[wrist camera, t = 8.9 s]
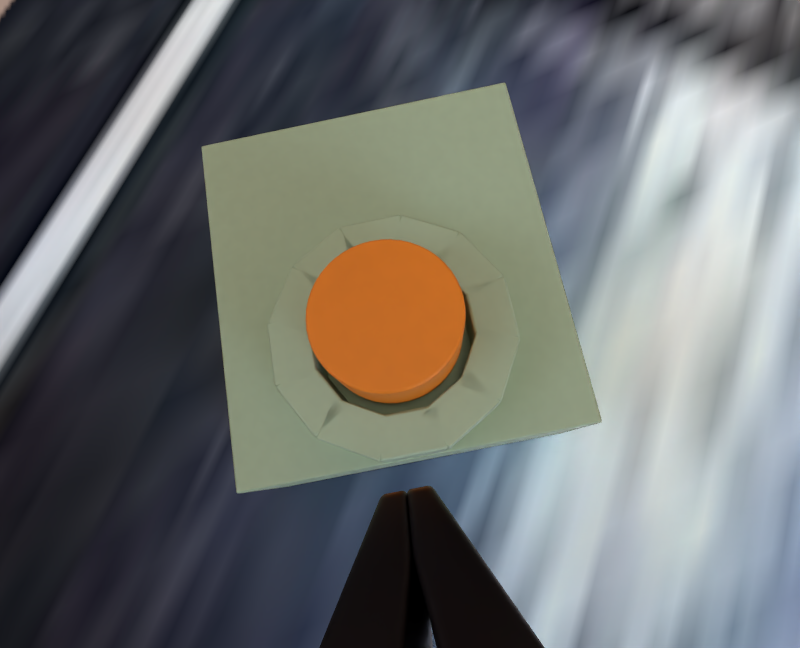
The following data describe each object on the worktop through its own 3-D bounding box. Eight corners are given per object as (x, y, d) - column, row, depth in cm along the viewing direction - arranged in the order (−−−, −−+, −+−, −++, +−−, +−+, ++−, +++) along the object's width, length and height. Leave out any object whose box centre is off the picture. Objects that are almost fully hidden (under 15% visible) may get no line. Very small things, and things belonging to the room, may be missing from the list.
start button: (476, 388, 15) (482, 376, 13) (334, 416, 15) (317, 408, 13) (446, 255, 16) (447, 223, 14) (313, 282, 16) (294, 254, 14)
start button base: (563, 432, 21) (623, 416, 14) (285, 486, 21) (210, 497, 14) (492, 162, 24) (512, 42, 17) (250, 212, 24) (176, 113, 17)
